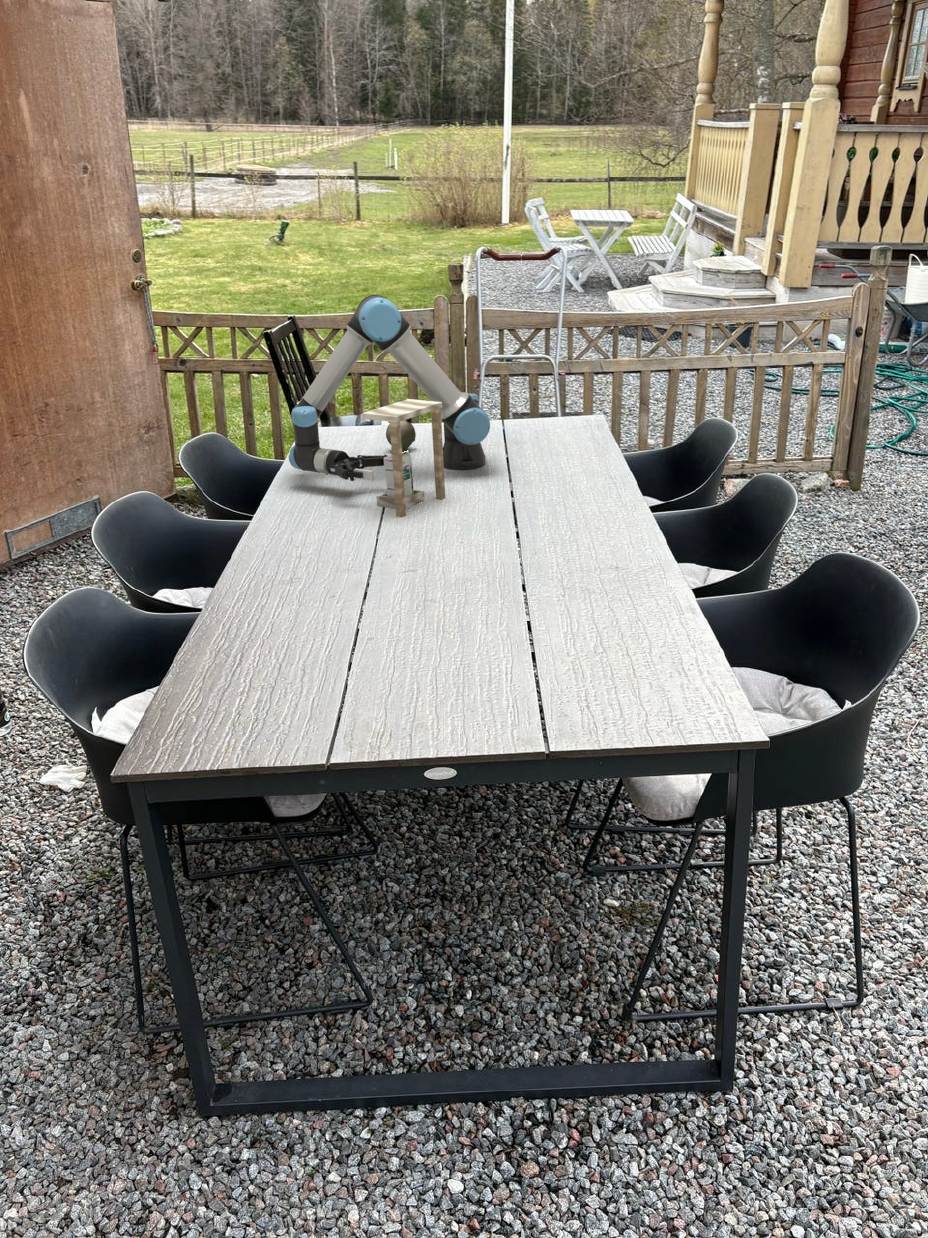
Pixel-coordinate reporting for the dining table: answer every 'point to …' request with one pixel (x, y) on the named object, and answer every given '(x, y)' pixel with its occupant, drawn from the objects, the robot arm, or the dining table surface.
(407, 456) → the syrup box
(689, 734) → the dining table surface
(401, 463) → the awning stand
